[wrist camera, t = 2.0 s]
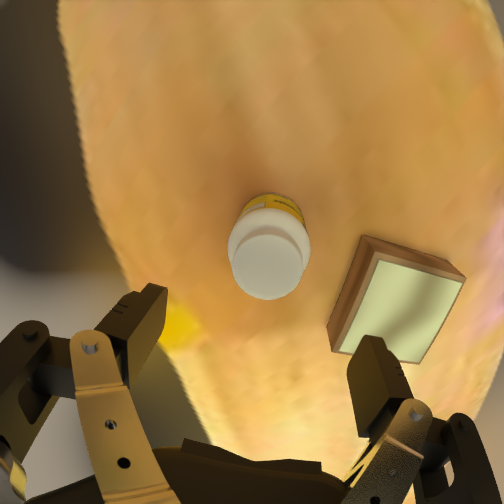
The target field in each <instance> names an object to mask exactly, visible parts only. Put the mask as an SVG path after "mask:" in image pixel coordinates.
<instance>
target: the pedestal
mask: <svg viewBox="0 0 504 504" xmlns="http://www.w3.org/2000/svg"><path fill="white" fill-rule="evenodd" d="M465 280H466V277H465V276H464V275H463V274H462V273H461V272H460V271H458V270H457V269H456V268H455V267H454V266H453V265H452V264H451V263H450V262H448V261H447V260H444V259H441V258H438V257H435V256H431V255H428V254H425V253H422V252H419V251H416V250H412V249H409V248H406V247H402V246H399V245H396V244H392V243H389V242H386V241H382V240H379V239H376V238H372V237H369V236H365V235H362V237H361V240H360V243H359V245H358V248H357V251H356V254H355V257H354V259H353V262H352V265H351V267H350V270H349V273H348V275H347V278H346V281H345V283H344V286H343V288H342V291H341V293H340V296H339V298H338V301H337V303H336V306H335V308H334V311H333V313H332V315H331V318H330V320H329V323H328V325H327V331H328V336H329V341H330V346H331V352H334V353H340V354H346V355H352V356H353V354H354V352H355V350H356V348H357V347H358V345H359V343H360V341H361V339H362V337H363V336H364V335H366V334H367V335H372V336H378V337H382V338H383V339H384V341H385V344H386V346H387V349H388V350H390V351H391V352H392V353H393V354H394V355H395V356H396V357H397V358H398V360H399V362H401V363H410V364H420V363H421V361H422V360H423V358H424V356H425V355H426V353H427V352H428V350H429V348H430V347H431V345H432V343H433V342H434V340H435V338H436V337H437V335H438V333H439V331H440V330H441V328H442V326H443V324H444V322H445V320H446V319H447V317H448V315H449V313H450V311H451V309H452V307H453V305H454V303H455V301H456V299H457V297H458V295H459V293H460V291H461V289H462V287H463V285H464V282H465Z"/></svg>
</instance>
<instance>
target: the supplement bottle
mask: <svg viewBox="0 0 504 504" xmlns="http://www.w3.org/2000/svg"><path fill="white" fill-rule="evenodd" d="M228 257H229V261H230V264H231V266H232V272H233V276H234V278H235V281H236V282H237V284H238V285H239V287H240V288H241V289H242V290H243V291H244V292H246V293H247V294H249V295H251V296H253V297H255V298H259V299H264V300H272V299H277V298H281V297H283V296H285V295H287V294H289V293H290V292H291V291H293V290H294V289H295V287H296V286H297V285H298V283H299V282H300V280H301V277H302V273H303V271H304V270H305V268H306V266H307V264H308V261H309V258H310V240H309V236H308V233H307V230H306V226H305V223H304V219H303V216H302V213H301V211H300V209H299V208H298V206H297V205H296V204H295V203H294V202H293V201H292V200H291V199H290V198H288V197H286V196H284V195H282V194H278V193H265V194H261V195H258V196H256V197H254V198H253V199H252V200H250V201H249V202H248V203H247V204H246V206H245V207H244V208H243V210H242V212H241V214H240V216H239V218H238V220H237V221H236V224H235V225H234V227H233V229H232V231H231V234H230V237H229V240H228Z"/></svg>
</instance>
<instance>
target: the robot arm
mask: <svg viewBox="0 0 504 504" xmlns="http://www.w3.org/2000/svg"><path fill="white" fill-rule="evenodd" d="M167 295H168V289H167V288H166V287H163V286H159V285H156V284H152V283H148V284H147V285H146V286H145V288H144V289H143V290H142V291H141V292H140V293H139V292H136V291H133V292H131V293H129V294H126V295H124V296H123V297H122V298H121V299H120V300H119V302H118V303H117V304H116V305H115V306H114V307H113V308H112V310H110V312H109V313H108V314H107V315H106V316H105V317H104V318H103V319H102V321H101V322H100V323H99V324H98V325H97V326H96V327H95V329H94V330H84V331H80V332H78V333H76V334H75V335H74V336H73V337H72V338H71V339H66V338H59V337H54V336H50V334H49V330H48V328H47V326H46V325H45V324H44V323H42V322H40V321H35V320H30V321H25V322H22V323H20V324H19V325H17V326H16V327H15V328H14V329H13V330H12V331H11V332H10V333H9V334H8V335H7V336H6V337H5V338H4V339H3V340H2V342H1V343H0V504H402V503H403V501H404V499H405V497H406V495H407V493H408V491H409V489H410V487H411V485H412V483H413V487H414V493H415V499H416V504H502V501H501V497H500V493H499V490H498V487H497V484H496V481H495V478H494V474H493V471H492V468H491V465H490V463H489V460H488V457H487V454H486V451H485V449H484V446H483V444H482V441H481V438H480V436H479V433H478V431H477V429H476V426H475V424H474V422H473V421H472V420H471V418H469V417H468V416H467V415H465V414H463V413H454V414H453V415H452V416H451V417H450V418H449V419H448V420H447V421H445V420H441V419H438V418H434V417H433V415H432V412H431V410H430V408H429V407H428V406H427V405H426V404H425V403H423V402H422V401H420V400H417V399H414V397H413V394H412V392H411V389H410V387H409V384H408V382H407V379H406V377H405V376H404V372H403V370H402V369H401V368H402V367H401V365H400V363H399V360H398V358H397V357H396V356H395V355H394V354H393V353H392V352H391V351H390V350H388V349H387V346H386V344H385V341H384V339H383V338H382V337H378V336H372V335H367V334H366V335H364V336H363V337H362V339H361V341H360V343H359V345H358V347H357V348H356V350H355V352H354V354H353V356H352V358H351V360H350V362H349V364H348V368H347V380H348V384H349V389H350V394H351V399H352V404H353V409H354V414H355V420H356V425H357V431H358V436H359V437H362V438H370V441H371V442H370V443H369V444H368V445H367V446H366V447H365V449H364V450H363V452H362V453H361V455H360V456H359V457H358V459H357V460H356V462H355V463H354V464H353V466H352V467H351V468H350V470H349V471H348V472H347V474H346V475H345V476H344V477H343V478H342V480H340V479H339V478H337V477H335V476H333V475H331V474H328V473H326V472H323V471H322V468H321V462H316V461H304V460H294V459H283V460H271V461H251V460H249V459H246V458H244V457H241V456H239V455H236V454H234V453H232V452H229V451H227V450H225V449H222V448H220V447H217V446H213V445H209V444H205V443H200V442H197V441H193V440H189V439H186V438H184V441H183V444H182V447H177V446H168V447H158V448H154V449H151V447H150V445H149V442H148V440H147V438H146V435H145V433H144V431H143V428H142V426H141V423H140V421H139V418H138V415H137V413H136V410H135V408H134V405H133V402H132V399H131V396H130V393H129V391H128V389H131V387H132V385H133V383H134V381H135V379H136V377H137V376H138V374H139V372H140V370H141V369H142V367H143V365H144V363H145V362H146V360H147V358H148V356H149V355H150V353H151V351H152V349H153V347H154V346H155V344H156V342H157V340H158V339H159V337H160V335H161V333H162V331H163V328H164V324H165V317H166V305H167ZM59 397H65V398H71V399H76V402H77V407H78V412H79V417H80V421H81V426H82V430H83V434H84V438H85V442H86V446H87V450H88V453H89V457H90V460H91V464H92V467H93V470H94V473H95V474H94V475H92V476H90V477H87V478H85V479H82V480H80V481H77V482H75V483H72V484H70V485H67V486H64V487H61V488H59V489H56V490H53V491H50V492H48V493H45V494H42V495H39V496H36V497H33V498H31V499H29V500H27V501H26V498H25V493H24V492H25V486H26V482H27V476H26V472H25V470H24V468H23V466H22V465H21V463H22V462H23V460H24V458H25V456H26V454H27V452H28V450H29V449H30V447H31V445H32V443H33V441H34V440H35V438H36V436H37V434H38V433H39V431H40V429H41V427H42V426H43V424H44V422H45V421H46V419H47V417H48V416H49V414H50V412H51V411H52V409H53V407H54V406H55V404H56V402H57V401H58V399H59ZM449 461H451V464H452V468H453V472H454V481H453V483H452V485H451V486H450V487H449V485H448V481H447V477H446V473H445V469H444V465H445V464H446V463H448V462H449Z"/></svg>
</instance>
